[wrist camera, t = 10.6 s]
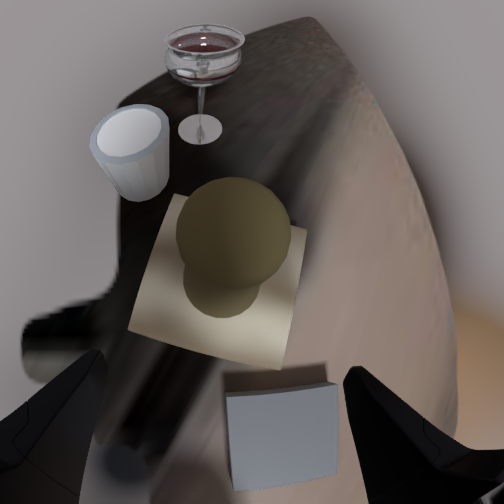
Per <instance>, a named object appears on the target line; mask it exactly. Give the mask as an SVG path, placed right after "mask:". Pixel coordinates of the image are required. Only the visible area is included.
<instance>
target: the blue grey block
mask: <svg viewBox="0 0 504 504" xmlns="http://www.w3.org/2000/svg"><path fill="white" fill-rule="evenodd" d="M225 405H226V420H227V434H228V447H229V459H230V470H231V481H232V486H233V490H234V492H235V491H248V490H257V489H265V488H273V487H279V486H285V485H291V484H296V483H301V482H306V481H310V480H315V479H319V478H323V477H327V476H330V475H334V474H337V468H338V431H339V414H338V384H335V383H331V382H322V383H316V384H309V385H302V386H295V387H287V388H278V389H268V390H256V391H241V392H225Z"/></svg>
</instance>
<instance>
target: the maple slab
mask: <svg viewBox="0 0 504 504" xmlns="http://www.w3.org/2000/svg"><path fill="white" fill-rule="evenodd" d="M188 198H189V197H186V196H182V195H178V194H174V195H173V198H172V200H171V202H170V205H169V207H168V210H167V212H166V215H165V218H164V220H163V223H162V225H161V228H160V231H159V233H158V236H157V239H156V241H155V244H154V247H153V250H152V253H151V256H150V258H149V261H148V264H147V267H146V270H145V273H144V276H143V279H142V283H141V286H140V289H139V292H138V295H137V299H136V302H135V305H134V309H133V312H132V316H131V319H130V323H129V327H128V330H129V331H132V332H135V333H138V334H141V335H144V336H147V337H150V338H153V339H156V340H159V341H162V342H165V343H169V344H172V345H175V346H178V347H182V348H185V349H189V350H192V351H196V352H200V353H203V354H207V355H211V356H215V357H219V358H223V359H227V360H232V361H236V362H240V363H245V364H250V365H254V366H259V367H264V368H269V369H275V370H280V371H281V367H282V362H283V358H284V353H285V349H286V344H287V339H288V335H289V330H290V325H291V320H292V315H293V310H294V305H295V300H296V294H297V289H298V283H299V278H300V272H301V267H302V261H303V255H304V249H305V243H306V236H307V230H306V229H302V228H299V227H296V226H292V225H290V226H291V242H290V246H289V250H288V254H287V257H286V259H285V260H284V262H283V263H282V265H281V266H280V268H279V269H278V271H277V272H276V273H275V274H274V275H273V276H271V277H270V278H269V279H267V280H266V281H265V282H263V283H262V284H261V285H260V289H259V292H258V296H257V298H256V299H255V301H254V302H253V304H252V305H251V307H249V308H248V309H247V310H245V311H244V312H243V313H241V314H239V315H236V316H233V317H230V318H214V317H211V316H208V315H205V314H203V313H202V312H201V311H199V310H198V309H196V308H195V307H194V306H193V305H192V303H191V302H190V300H189V299H188V298H187V296H186V293H185V289H184V286H183V273H184V268H185V263H184V262H183V260H182V259H181V256H180V253H179V249H178V245H177V242H176V225H177V219H178V216H179V214H180V212H181V210H182V207H183V205H184V203H185V201H186V200H187V199H188Z"/></svg>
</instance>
